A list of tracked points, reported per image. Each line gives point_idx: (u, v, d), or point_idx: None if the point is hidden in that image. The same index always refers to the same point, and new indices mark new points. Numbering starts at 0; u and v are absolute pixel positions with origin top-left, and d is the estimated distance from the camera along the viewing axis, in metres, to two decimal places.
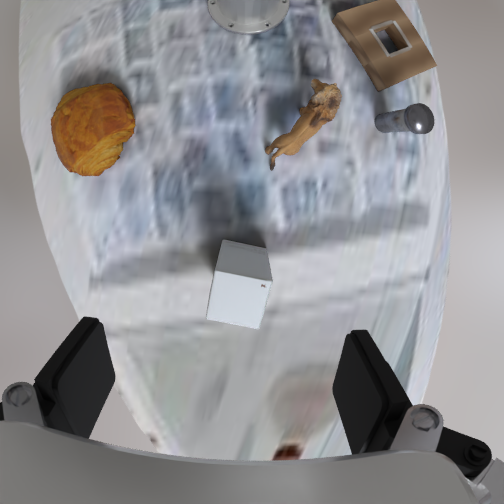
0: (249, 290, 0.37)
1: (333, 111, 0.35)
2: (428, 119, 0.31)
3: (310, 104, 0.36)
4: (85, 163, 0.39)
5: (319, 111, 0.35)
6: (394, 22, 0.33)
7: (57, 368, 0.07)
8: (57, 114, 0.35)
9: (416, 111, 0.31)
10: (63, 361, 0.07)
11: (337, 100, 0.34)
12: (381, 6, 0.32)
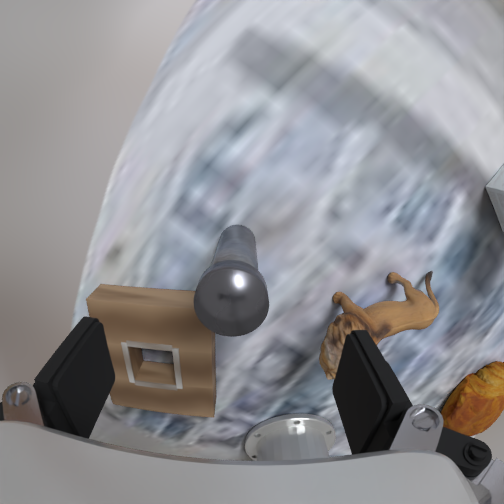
0: None
1: None
2: (213, 295, 0.16)
3: None
4: None
5: None
6: (132, 380, 0.28)
7: (57, 368, 0.07)
8: None
9: (236, 323, 0.16)
10: (63, 361, 0.07)
11: None
12: (140, 401, 0.29)
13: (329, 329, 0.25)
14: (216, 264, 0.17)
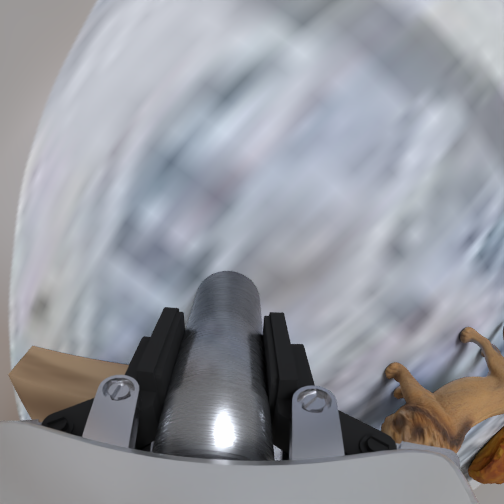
0: None
1: None
2: None
3: None
4: None
5: None
6: None
7: (158, 357, 0.08)
8: None
9: None
10: (160, 350, 0.09)
11: None
12: None
13: None
14: None
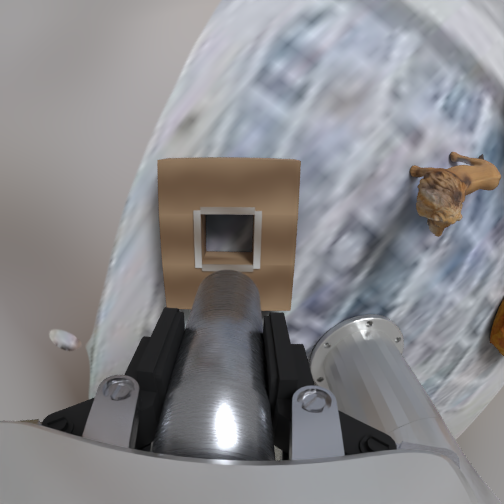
0: None
1: (452, 182, 0.21)
2: None
3: None
4: None
5: (465, 193, 0.22)
6: (199, 265, 0.27)
7: (158, 357, 0.08)
8: None
9: None
10: (160, 350, 0.09)
11: (448, 195, 0.21)
12: None
13: (422, 182, 0.24)
14: None
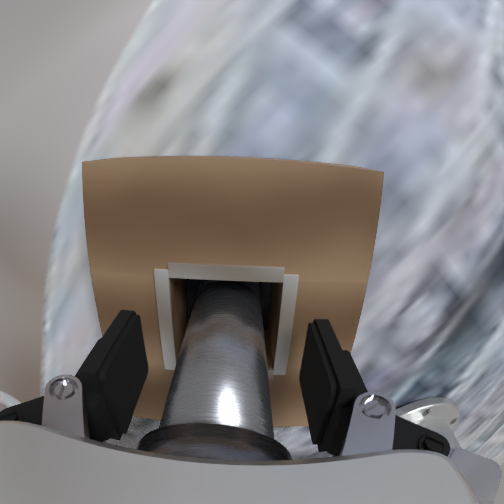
0: None
1: None
2: None
3: None
4: None
5: None
6: (172, 365, 0.13)
7: (103, 359, 0.08)
8: None
9: None
10: (107, 352, 0.08)
11: None
12: None
13: None
14: (168, 434, 0.05)
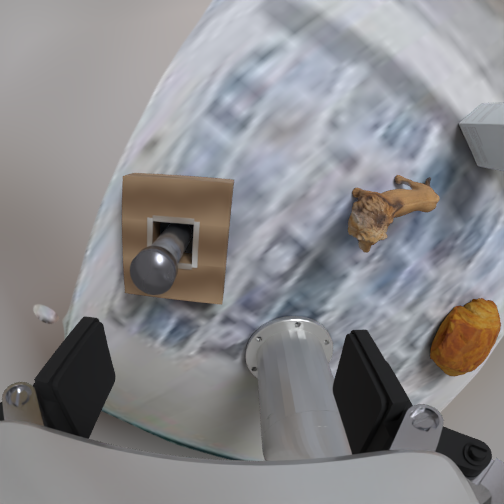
0: None
1: (378, 206, 0.28)
2: (141, 267, 0.24)
3: None
4: (495, 321, 0.37)
5: (392, 216, 0.28)
6: None
7: (57, 368, 0.07)
8: (473, 369, 0.39)
9: (155, 286, 0.25)
10: (63, 361, 0.07)
11: (371, 218, 0.27)
12: None
13: (354, 205, 0.30)
14: (145, 248, 0.25)
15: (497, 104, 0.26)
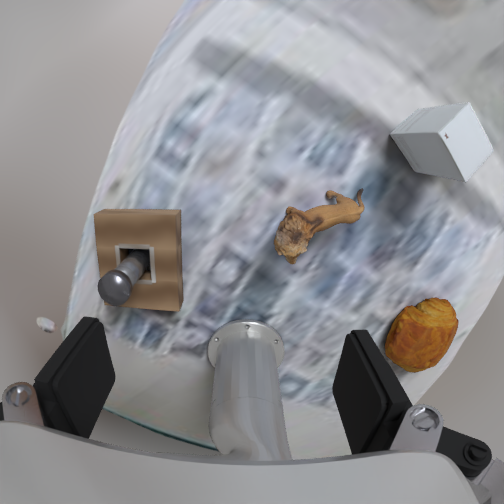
0: (457, 142, 0.27)
1: (296, 225, 0.35)
2: (105, 286, 0.32)
3: None
4: (449, 319, 0.43)
5: (311, 231, 0.35)
6: None
7: (57, 368, 0.07)
8: (431, 366, 0.45)
9: (116, 299, 0.32)
10: (63, 361, 0.07)
11: (288, 236, 0.34)
12: None
13: None
14: (108, 271, 0.33)
15: (428, 109, 0.33)
